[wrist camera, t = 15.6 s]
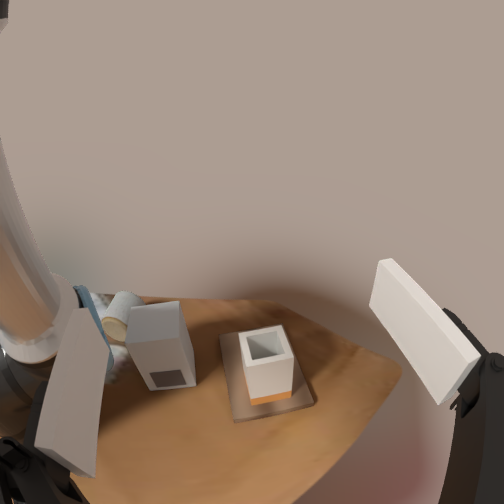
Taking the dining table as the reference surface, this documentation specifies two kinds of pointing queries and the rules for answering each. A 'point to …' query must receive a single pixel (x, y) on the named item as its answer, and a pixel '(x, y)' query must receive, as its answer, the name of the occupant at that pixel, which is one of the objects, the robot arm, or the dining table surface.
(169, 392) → the dining table surface
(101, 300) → the dining table surface
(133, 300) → the ceramic mug
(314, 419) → the dining table surface
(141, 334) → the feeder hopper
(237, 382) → the pin board
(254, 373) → the sleeve
